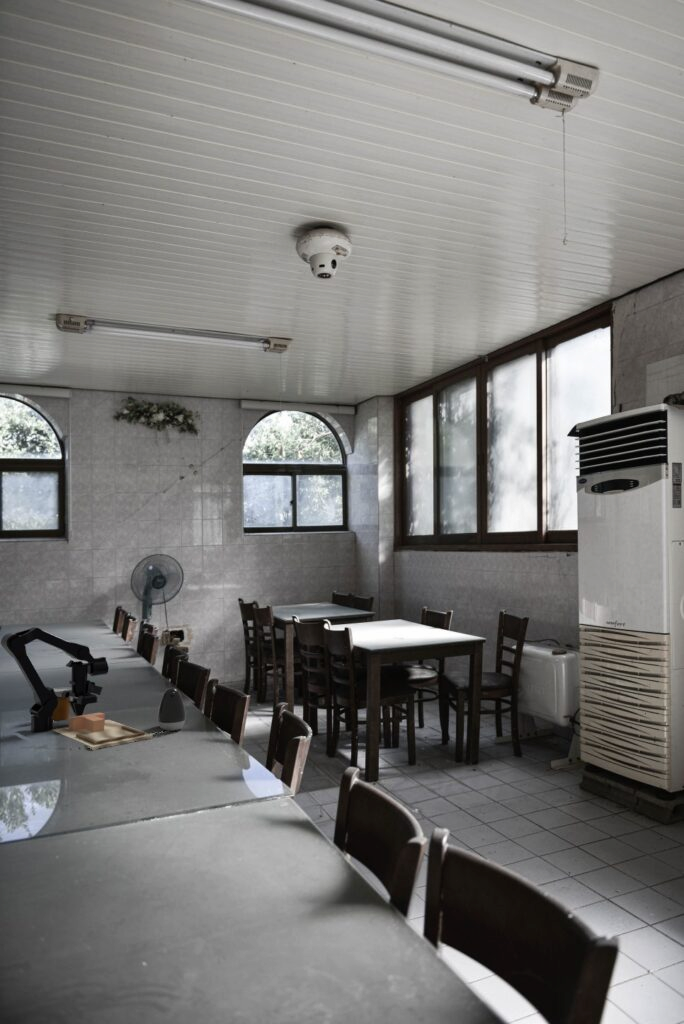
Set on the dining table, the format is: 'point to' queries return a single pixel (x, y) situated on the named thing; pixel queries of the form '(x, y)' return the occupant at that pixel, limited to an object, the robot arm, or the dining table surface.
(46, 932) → the dining table surface
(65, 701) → the disposable coffee cup
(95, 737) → the board
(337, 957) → the dining table surface
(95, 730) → the t block
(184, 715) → the grey egg-shaped pod
